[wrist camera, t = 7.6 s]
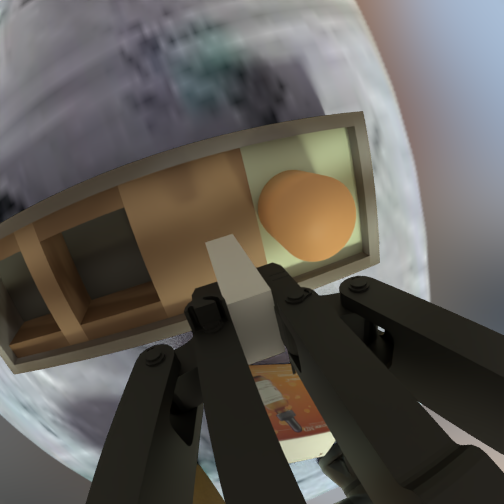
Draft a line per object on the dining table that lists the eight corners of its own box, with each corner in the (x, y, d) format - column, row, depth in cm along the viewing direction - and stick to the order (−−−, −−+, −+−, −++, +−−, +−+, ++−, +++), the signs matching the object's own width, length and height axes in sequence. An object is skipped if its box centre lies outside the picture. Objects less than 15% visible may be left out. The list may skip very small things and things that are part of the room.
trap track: (345, 241, 27) (379, 262, 22) (31, 340, 22) (14, 374, 17) (326, 116, 22) (362, 111, 17) (-20, 236, 17) (-52, 257, 12)
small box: (305, 360, 31) (347, 427, 22) (292, 393, 33) (326, 456, 23) (238, 363, 29) (266, 443, 19) (230, 397, 30) (253, 471, 21)
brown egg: (331, 226, 21) (361, 243, 17) (269, 251, 20) (290, 274, 16) (315, 161, 19) (347, 165, 15) (248, 183, 18) (266, 192, 14)
